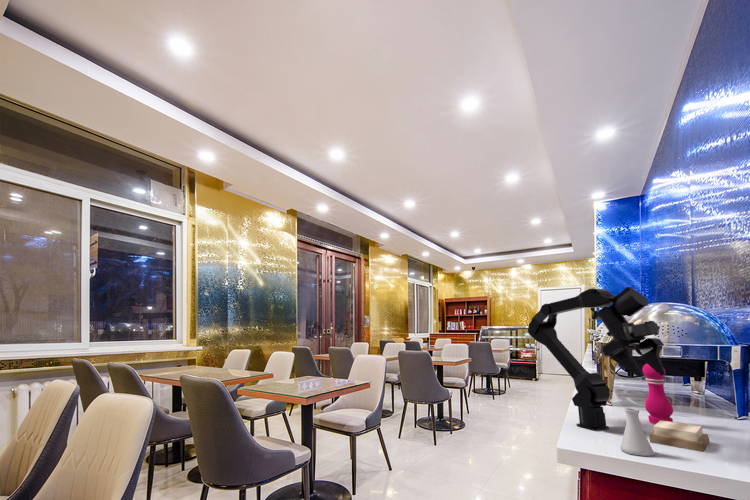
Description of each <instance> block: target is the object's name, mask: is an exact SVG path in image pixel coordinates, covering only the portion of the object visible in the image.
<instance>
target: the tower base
mask: <svg viewBox="0 0 750 500" xmlns="http://www.w3.org/2000/svg"><path fill="white" fill-rule="evenodd" d="M652 428H653V430H652V431H651V432H650V433H649V434H648V437H649V443H650V444H651V443H652V444H658V445H662V446H663V445H664V446H669V447H674V448H679V449H686V450H691V451H697V452H702V453H704V452H705V450H706V449H707V448H708V445H709V444H710V438H709V434H708V433H703V426H701V425H693V424H689V423H687V424H686V423H683V422H682V423H680V422H674V421H673V422H668V421H661V420H660V421H659V422H658V423H657V424H653V427H652Z"/></svg>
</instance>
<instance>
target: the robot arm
mask: <svg viewBox="0 0 750 500" xmlns="http://www.w3.org/2000/svg"><path fill="white" fill-rule="evenodd" d="M648 305H649V301H648V298H646V296H645V295H643V294H642V293H640V292H639V291H638V290H635V289H634V287H632V286H626V287H625V288H624V289H623V290H622V291H620V292H619V293H618V294H616V295H615V294H612V293H611V292H610V291H609V290H608V289H604V288H588V289H586V290H584V291H582V292H580V293H579V294H578V295H576V296H573V297H569V298H565V299H562V300H558V301H553V302H550V303H544V304H542V305H541V306H540V309H539V311H538V312H537V313H535V315H533V317H532V318H531V320H530V322H529V324H528V326H527V333H528V335H529V336H530V337H531V338H533V340H535V341H536V342H537V343H540V344H542V345H543V346H545V348H546V349H548V351H549V352H550V353H551V355H552V356H553V357H554V358H555V360H557V362H558V363H559V364H560V365H561V366H562V367H563V369H564V370H565V371H566V372H567V373H568V375H569V376H570V377H571V378H572V379H573V383H574V388H575V390H576V393H575V395H573V397H572V398H571V400H572V402H573V406H575V407H577V409H578V419H579V421H578V422H579V423H576V424H575V425H576V426H577V427H579V428H580V427H581V428H585V429H588V430H591V431H602V430H607V429H609V428H610V427H609V425H607V420H606V414H605V412H604V407H605V406H607V405H608V403H607V402H608V400H609V398H610V396H611V394H610V392H611V390H610V387H609V386H608V382H607V381H605V380H604V379H603V378H602V376H601V375H600V374H599V373H598V372H592V373H591V372H589V371H587V369H585V368H584V366H583V365H582V364H581V363H580V362H579V361H578V360H577V358H575V356H574V355H573V354H572V352H570V351H569V349H568V348H567V347H566V346H565V345H564V344H563V342H562V341H560V340H559V338H558V334H557V330H556V325H557V323H558V322H557V321H558V320H557V316H558V314H563V313H569V312H573V311H577V310H582V309H589V308H590V309H591V308H594V309H595V308H596V309H597V308H598V309H599V308H600V310H593V315H592V317H591V320H593V321H601V322H602V323H603V325H604V326H605V328H606V329H607V331H608V332H606V334H607V336H608V337H612V338H613V339H611V340H610V341H608V342H606V343H605V344H604V345H602V346H601V353H602V354H603V355H604V357H605V358H609V359H610V360H613V361H614V362H616V363H618V365H621V366H622V367H623V368H625V369H626V370H628V371H629V372H631V373H632V374H634V375H635V376H636V377H638V378H642V377H643V376H644V374H643V371H642V370H641V368H640V367H639V364H638V363H637V361H636V360H635V357H634V356H633V351H635V352H636V353H637V354H638V355H639V358H641V360H643V361H644V362H645V364H648V365H649V366H650V367H652V368H653V369H654V370H655V371H656V372H657V373H658V374H660V375H661V376H663V375H665V376H666V371H665V372H664V370H665V368H664V366H663V363H662V359H661V356H660V353H661V352H662V350H663V348H664V346H665V344H664V343H663V341H662V340H661V339H660V338H656V337H648V336H658V335H660V334H659V332H660V329H661V327H660V325H658V322H655V320H649V321H644V322H642V323H639V324H635V323H633V322H628V320H627V319H626V317H625V316H627V317H632V316H634V315H636V314H637V313H639V312H640V311H641V310H643V309H645V308H646V307H647V306H648ZM663 368H664V369H663Z"/></svg>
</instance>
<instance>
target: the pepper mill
mask: <svg viewBox="0 0 750 500" xmlns="http://www.w3.org/2000/svg"><path fill="white" fill-rule="evenodd" d="M663 369H664V372H665V373H666V369H665V368H664V367H663ZM642 374H643V376H645V377H646V378H645V383H646V384H647V386H648V393H647V397H646V399H645V403H644V405H645V407H644V409H645V411H646V412H647V413H648V414H649V415H648V422H649V423H650V424H652V425H655V424H657V423H658V422H659V421H660V420H661V421H668V422H674V420H673V418H672V417H671V416H672V415H673V413H674V408H673V405H672V403H671V401H670V400H669V399H668V397H667V395H666V392H665V389H664V386H665V383H666V382H665V379H664V377H665V376H666V374H665V375H663V376H661V375H660V374H658V373H657V372H656V371H655V370H654V369H653V368H652V367H650V366H649V365H648V364H647V363H645V364H644V365H643V366H642Z"/></svg>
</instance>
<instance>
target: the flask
mask: <svg viewBox="0 0 750 500" xmlns="http://www.w3.org/2000/svg"><path fill="white" fill-rule="evenodd" d="M624 412H625V413H626V421H625V422H626V423H625V428H624V431H623V436H622V440H621V442H620V450H621V451H622V452H624V453H627V454H630V455H637V456H642V457H646V456H648V457H649V456H650V457H651V456H655V455H656V454H655V452H654V450H653V448H652V446H651V443H650V441H649V440H648V437H647V435H646V434H645V432H644V429H643V426H642V423H641V422H640V416H639V414H640V410H639V409H638V408H633V407H625V408H624Z"/></svg>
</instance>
